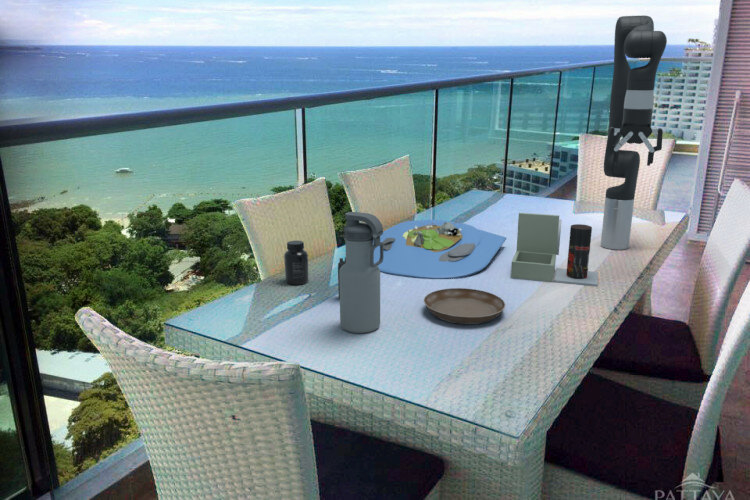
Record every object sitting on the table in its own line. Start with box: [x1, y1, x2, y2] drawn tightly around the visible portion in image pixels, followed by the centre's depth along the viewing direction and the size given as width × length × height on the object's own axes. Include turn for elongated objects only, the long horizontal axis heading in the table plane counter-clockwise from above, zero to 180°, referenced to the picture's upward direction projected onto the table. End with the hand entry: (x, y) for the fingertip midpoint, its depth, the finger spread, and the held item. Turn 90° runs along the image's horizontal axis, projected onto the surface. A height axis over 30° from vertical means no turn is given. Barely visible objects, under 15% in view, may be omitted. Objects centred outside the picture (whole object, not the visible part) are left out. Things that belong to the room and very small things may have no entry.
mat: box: [553, 267, 599, 287], centre depth 189 cm, size 12×12×1 cm
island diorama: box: [373, 219, 507, 280], centre depth 209 cm, size 45×43×12 cm
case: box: [510, 212, 562, 283], centre depth 191 cm, size 13×13×17 cm
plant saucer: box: [423, 287, 506, 325], centre depth 163 cm, size 21×21×3 cm
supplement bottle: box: [283, 240, 310, 286], centre depth 185 cm, size 7×7×12 cm
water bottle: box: [339, 211, 384, 334], centre depth 151 cm, size 10×10×28 cm
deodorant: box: [566, 223, 593, 279], centre depth 187 cm, size 6×6×15 cm
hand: (632, 164), depth 181 cm, fingers open, 8 cm apart
